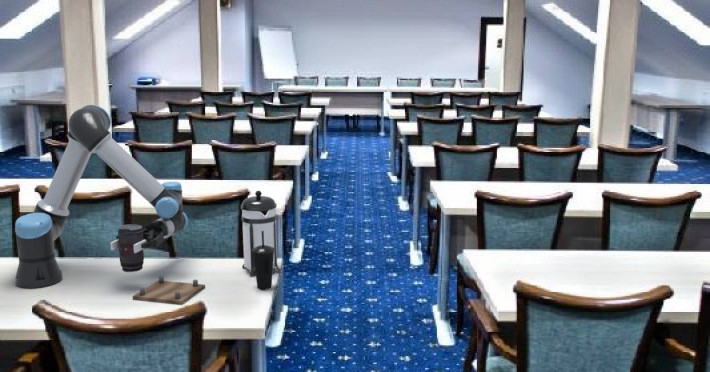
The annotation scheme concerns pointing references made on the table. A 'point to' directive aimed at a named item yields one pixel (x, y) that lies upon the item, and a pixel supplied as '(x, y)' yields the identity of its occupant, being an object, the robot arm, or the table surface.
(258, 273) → the drinking cup
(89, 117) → the robot arm
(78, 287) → the table surface
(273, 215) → the coffee press
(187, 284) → the board
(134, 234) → the camera lens
